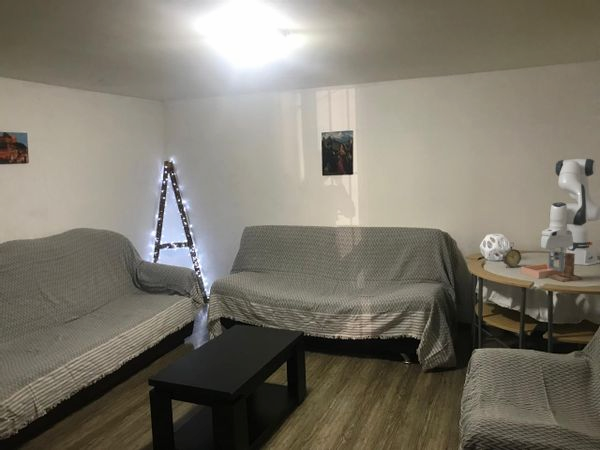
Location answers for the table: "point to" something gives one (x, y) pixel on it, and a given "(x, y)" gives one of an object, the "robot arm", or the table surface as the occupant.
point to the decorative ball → (494, 246)
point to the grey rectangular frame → (561, 261)
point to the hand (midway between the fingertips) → (556, 255)
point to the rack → (566, 269)
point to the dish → (539, 271)
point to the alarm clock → (511, 257)
